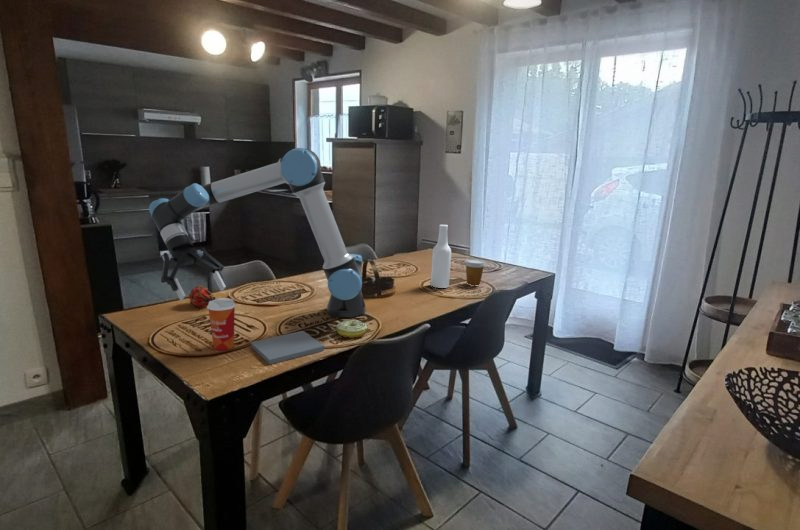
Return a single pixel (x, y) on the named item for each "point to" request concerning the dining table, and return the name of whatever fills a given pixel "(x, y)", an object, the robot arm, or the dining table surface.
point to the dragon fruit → (200, 296)
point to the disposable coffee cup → (474, 271)
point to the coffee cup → (222, 323)
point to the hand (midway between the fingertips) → (204, 293)
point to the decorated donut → (351, 328)
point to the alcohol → (441, 260)
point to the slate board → (286, 347)
